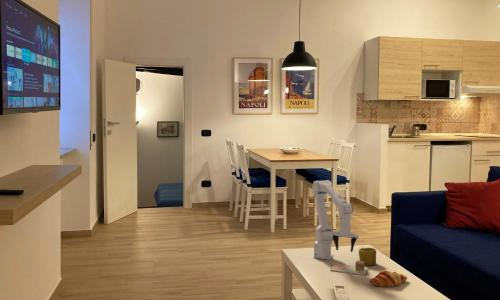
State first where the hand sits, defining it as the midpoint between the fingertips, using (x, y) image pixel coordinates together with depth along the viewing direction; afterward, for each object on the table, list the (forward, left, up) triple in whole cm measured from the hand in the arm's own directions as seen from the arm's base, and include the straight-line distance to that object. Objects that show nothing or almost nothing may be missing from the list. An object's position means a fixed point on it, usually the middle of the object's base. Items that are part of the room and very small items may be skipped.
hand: (344, 250), depth 248 cm
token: (+8, -1, -9) cm, 12 cm away
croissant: (+25, -13, -10) cm, 30 cm away
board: (+3, -1, -10) cm, 10 cm away
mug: (+10, +14, -10) cm, 20 cm away
